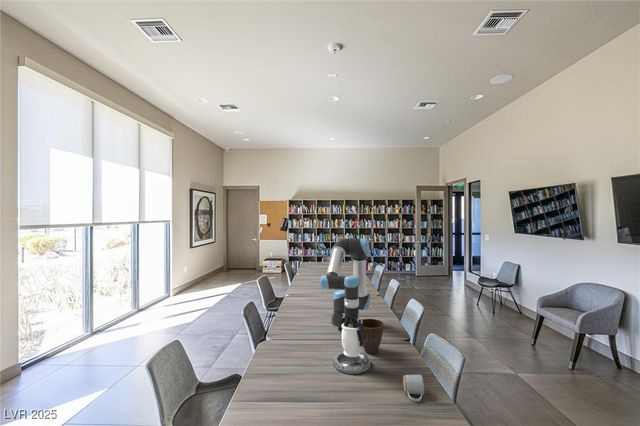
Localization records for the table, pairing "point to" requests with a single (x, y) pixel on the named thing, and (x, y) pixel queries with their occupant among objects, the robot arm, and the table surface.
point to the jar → (350, 340)
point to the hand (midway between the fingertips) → (351, 348)
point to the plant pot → (372, 335)
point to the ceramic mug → (413, 386)
